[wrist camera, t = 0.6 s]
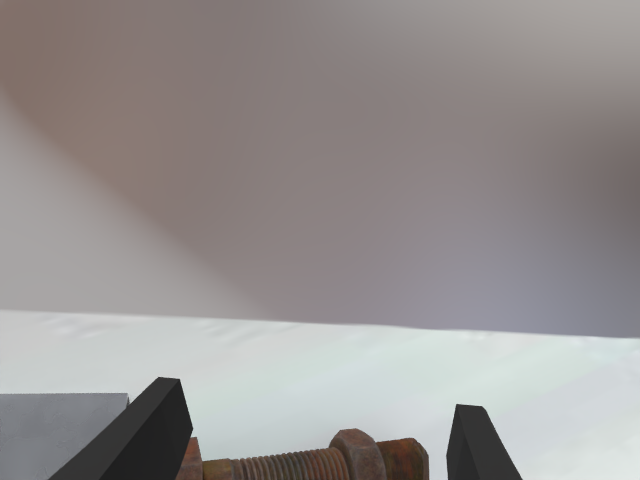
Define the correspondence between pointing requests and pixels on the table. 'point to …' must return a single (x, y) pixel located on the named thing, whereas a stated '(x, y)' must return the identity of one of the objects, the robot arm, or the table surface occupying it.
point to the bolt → (318, 462)
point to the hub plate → (50, 429)
